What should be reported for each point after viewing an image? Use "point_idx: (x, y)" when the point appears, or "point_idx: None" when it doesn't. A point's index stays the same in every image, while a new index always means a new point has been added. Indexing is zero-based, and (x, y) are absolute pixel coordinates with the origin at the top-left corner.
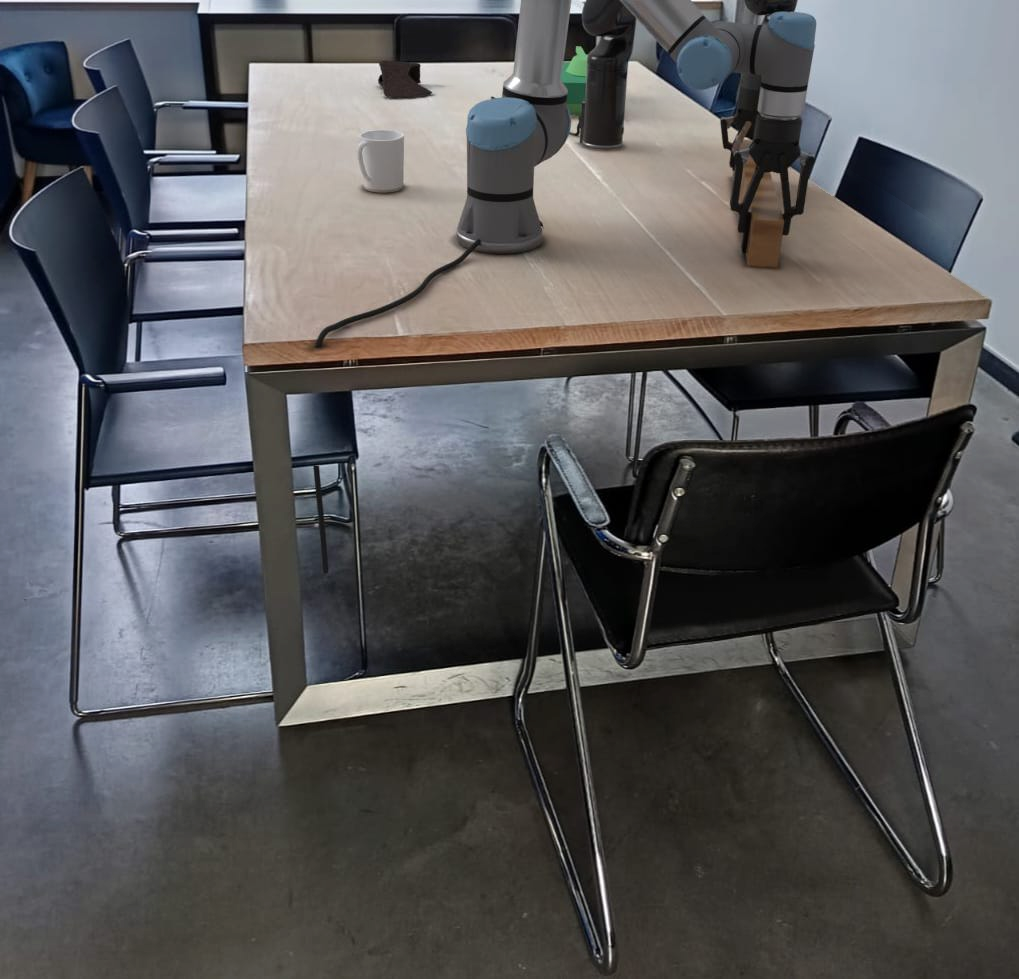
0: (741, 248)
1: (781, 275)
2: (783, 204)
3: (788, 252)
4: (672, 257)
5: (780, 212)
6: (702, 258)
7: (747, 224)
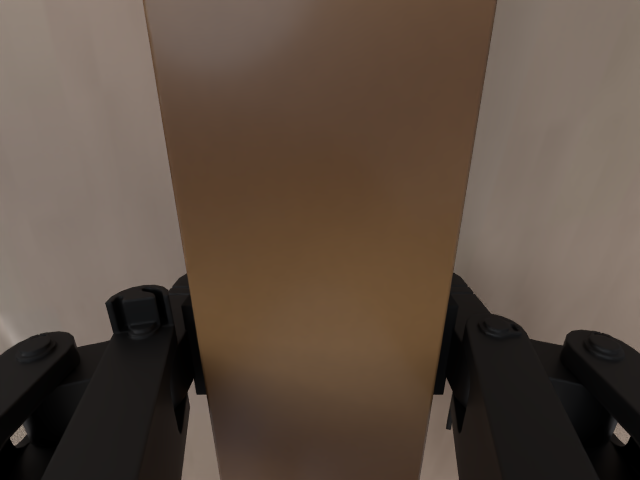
0: None
1: None
2: (469, 403)
3: None
4: (7, 326)
5: (416, 447)
6: None
7: None
